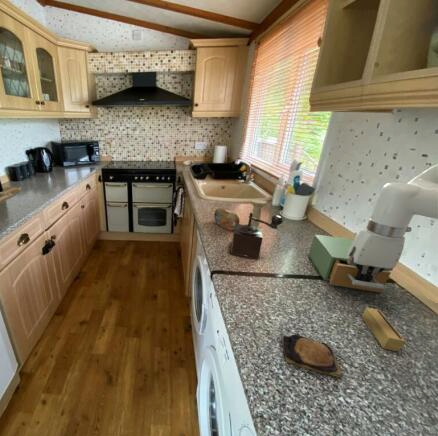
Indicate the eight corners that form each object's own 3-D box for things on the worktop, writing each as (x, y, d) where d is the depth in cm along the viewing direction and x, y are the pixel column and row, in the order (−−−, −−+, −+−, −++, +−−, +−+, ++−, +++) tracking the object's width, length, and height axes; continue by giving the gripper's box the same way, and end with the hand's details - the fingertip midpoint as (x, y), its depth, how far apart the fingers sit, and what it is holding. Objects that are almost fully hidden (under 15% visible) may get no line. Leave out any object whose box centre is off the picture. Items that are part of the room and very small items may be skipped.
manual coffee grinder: (230, 255, 95) (237, 212, 88) (231, 242, 104) (237, 203, 97) (273, 263, 90) (285, 218, 83) (270, 249, 100) (280, 208, 92)
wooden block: (361, 317, 66) (366, 307, 65) (374, 319, 65) (379, 309, 64) (383, 348, 57) (389, 337, 56) (398, 351, 56) (405, 340, 55)
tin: (213, 221, 125) (214, 206, 122) (217, 220, 126) (219, 205, 123) (233, 233, 113) (236, 216, 109) (239, 232, 114) (241, 215, 111)
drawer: (390, 303, 70) (401, 282, 67) (337, 294, 73) (345, 274, 70) (356, 265, 88) (363, 247, 85) (314, 259, 91) (320, 242, 88)
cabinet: (376, 288, 77) (387, 264, 74) (324, 280, 81) (332, 256, 77) (351, 260, 92) (360, 239, 88) (308, 255, 96) (314, 234, 92)
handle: (245, 228, 118) (250, 199, 112) (259, 230, 116) (265, 200, 110) (246, 232, 114) (251, 202, 108) (260, 234, 112) (267, 203, 106)
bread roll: (330, 347, 57) (335, 336, 56) (342, 381, 50) (348, 369, 48) (280, 334, 61) (283, 323, 59) (285, 363, 53) (289, 351, 52)
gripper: (409, 226, 67) (383, 280, 74) (347, 220, 71) (328, 272, 78) (430, 238, 61) (399, 296, 68) (359, 230, 64) (337, 286, 72)
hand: (361, 283), depth 73 cm, fingers closed
